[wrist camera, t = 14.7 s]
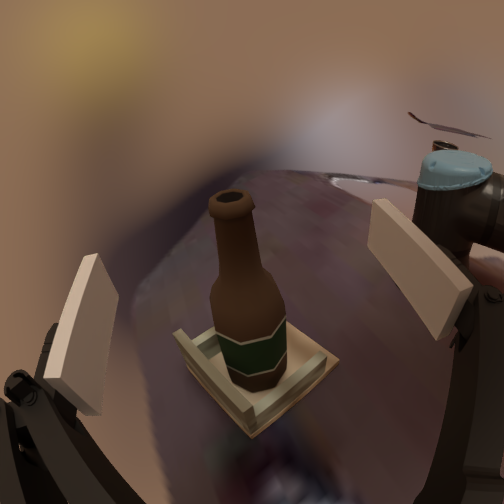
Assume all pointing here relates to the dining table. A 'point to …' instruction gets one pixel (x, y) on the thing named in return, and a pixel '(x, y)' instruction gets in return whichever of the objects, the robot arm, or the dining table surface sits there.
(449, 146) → the wine glass
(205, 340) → the wooden display stand
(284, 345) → the beer bottle
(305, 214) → the dining table surface
